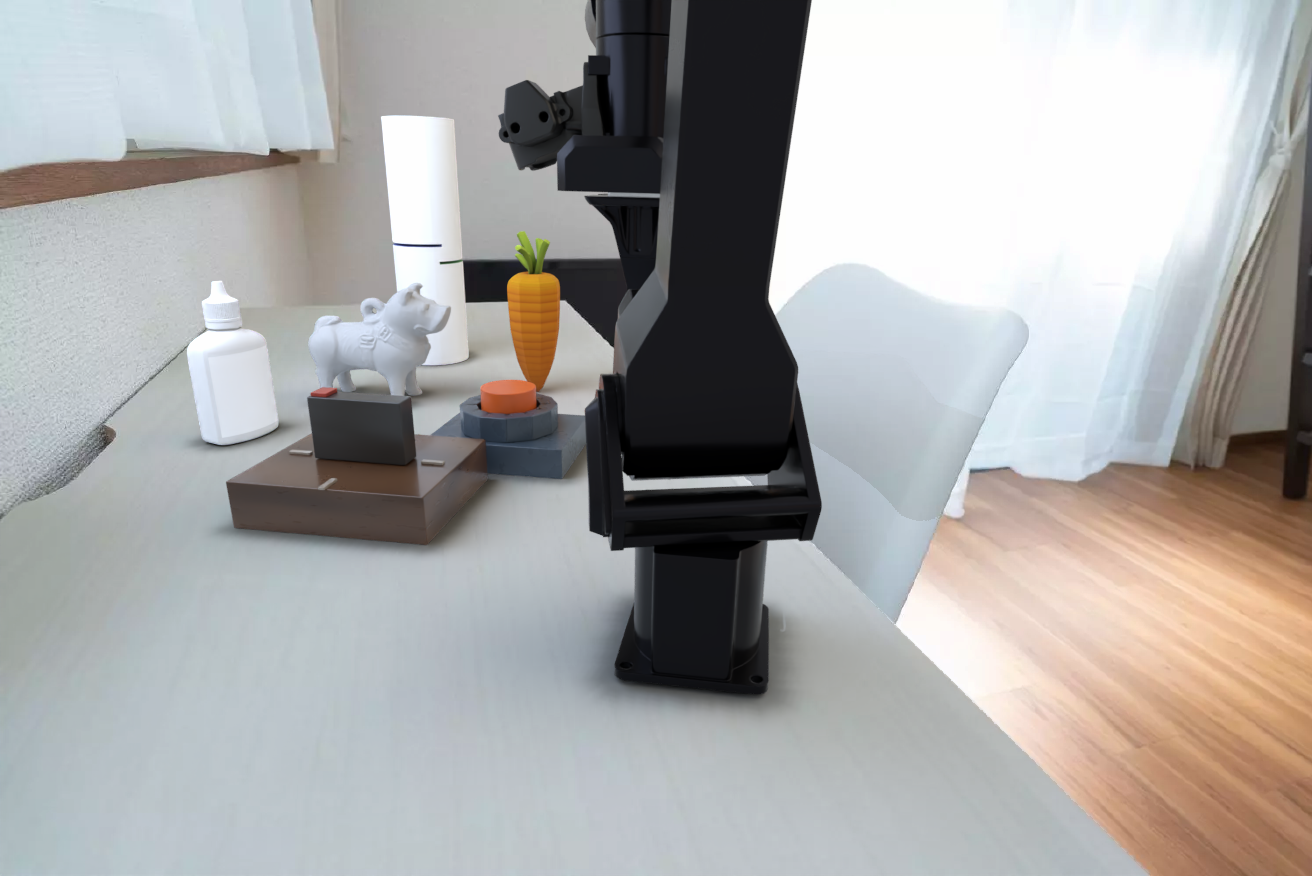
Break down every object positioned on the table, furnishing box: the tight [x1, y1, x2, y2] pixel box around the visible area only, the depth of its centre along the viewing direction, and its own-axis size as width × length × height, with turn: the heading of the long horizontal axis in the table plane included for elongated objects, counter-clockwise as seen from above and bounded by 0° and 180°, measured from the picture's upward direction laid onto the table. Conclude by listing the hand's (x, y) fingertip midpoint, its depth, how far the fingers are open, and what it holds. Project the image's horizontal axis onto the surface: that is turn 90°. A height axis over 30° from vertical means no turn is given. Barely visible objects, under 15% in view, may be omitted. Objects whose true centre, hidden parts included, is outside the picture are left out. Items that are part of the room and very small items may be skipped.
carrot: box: [506, 230, 561, 393], centre depth 71 cm, size 5×5×15 cm
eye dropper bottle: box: [186, 280, 280, 446], centre depth 58 cm, size 4×6×12 cm
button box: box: [430, 392, 586, 480], centre depth 56 cm, size 8×10×4 cm
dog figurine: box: [307, 282, 451, 396], centre depth 68 cm, size 5×13×11 cm, turn 87°
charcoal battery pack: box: [306, 387, 416, 465], centre depth 47 cm, size 6×2×4 cm, turn 81°
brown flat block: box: [225, 432, 489, 546], centre depth 48 cm, size 10×12×3 cm
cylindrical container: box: [380, 115, 470, 366], centre depth 81 cm, size 7×7×25 cm
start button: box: [479, 379, 537, 414], centre depth 56 cm, size 4×4×2 cm
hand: (639, 306), depth 50 cm, fingers closed
